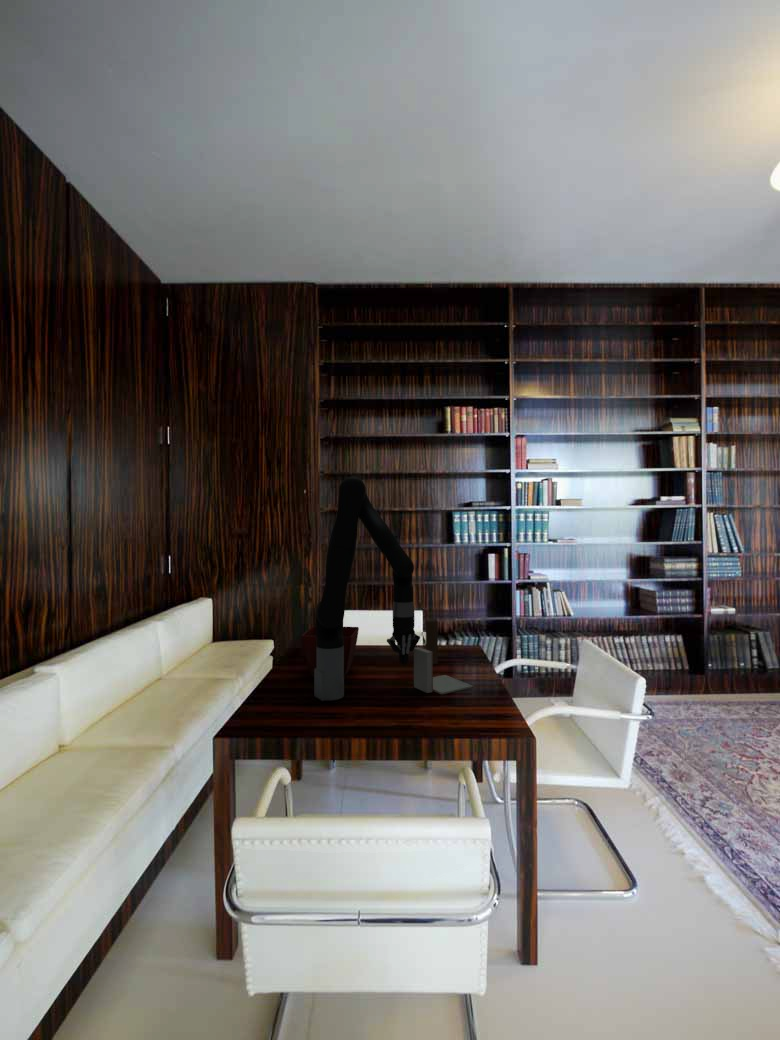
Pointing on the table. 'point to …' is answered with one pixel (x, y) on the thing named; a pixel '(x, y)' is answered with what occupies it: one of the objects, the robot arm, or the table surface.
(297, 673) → the table surface
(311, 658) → the plant pot
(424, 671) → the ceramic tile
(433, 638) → the wooden block
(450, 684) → the felt pad
